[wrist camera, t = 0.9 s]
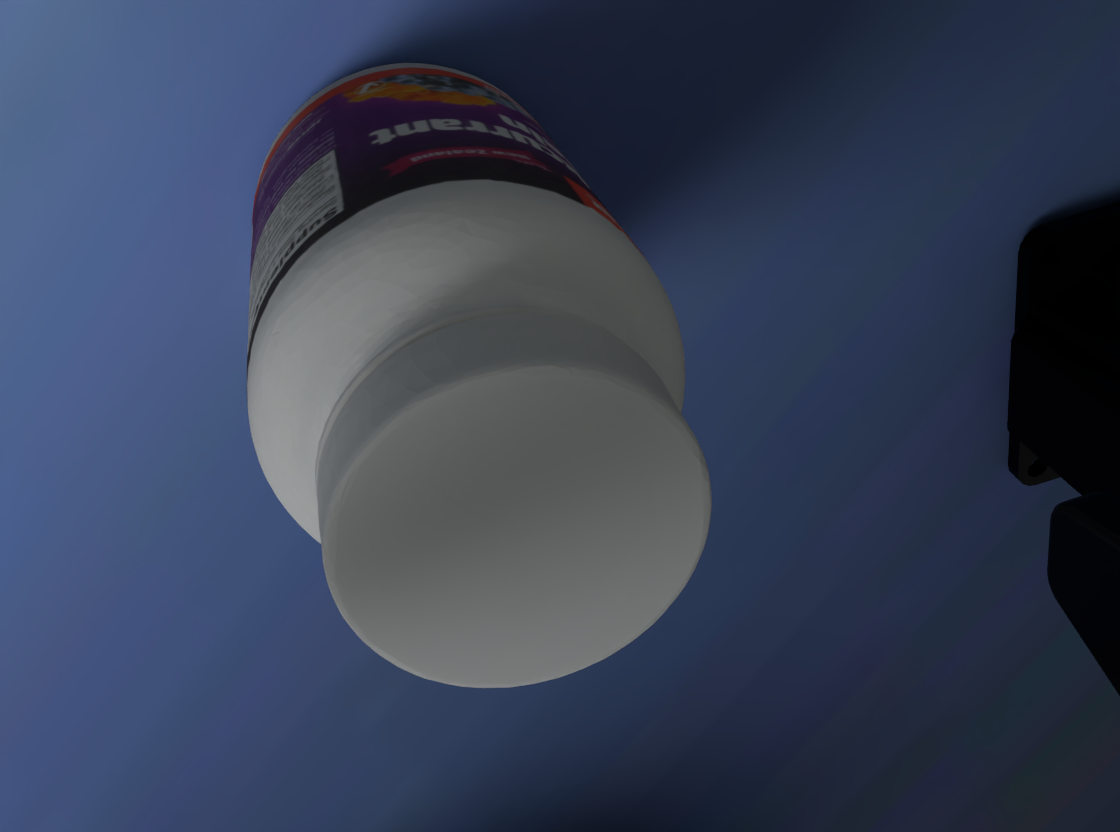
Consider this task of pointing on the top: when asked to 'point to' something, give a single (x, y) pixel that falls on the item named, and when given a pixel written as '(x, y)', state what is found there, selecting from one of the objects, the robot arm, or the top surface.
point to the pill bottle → (467, 383)
